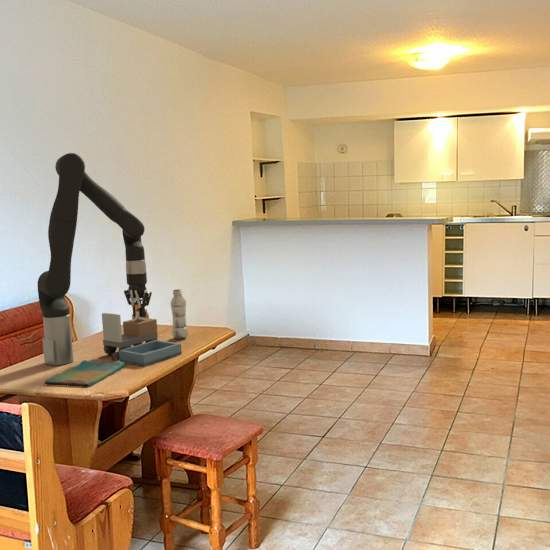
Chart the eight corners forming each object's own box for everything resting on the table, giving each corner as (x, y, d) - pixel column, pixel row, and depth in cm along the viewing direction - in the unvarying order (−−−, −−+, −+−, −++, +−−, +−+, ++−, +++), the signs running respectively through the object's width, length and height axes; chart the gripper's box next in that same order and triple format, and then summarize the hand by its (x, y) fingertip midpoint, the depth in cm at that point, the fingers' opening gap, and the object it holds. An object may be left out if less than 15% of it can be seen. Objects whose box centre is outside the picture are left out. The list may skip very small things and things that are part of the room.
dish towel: (127, 368, 222) (126, 361, 221) (90, 389, 199) (89, 381, 199) (83, 366, 226) (83, 359, 226) (43, 386, 204) (42, 379, 204)
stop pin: (139, 330, 243) (138, 305, 242) (135, 330, 245) (133, 304, 244) (145, 329, 246) (143, 304, 244) (140, 328, 247) (138, 303, 246)
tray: (144, 366, 221) (143, 355, 220) (119, 361, 228) (118, 350, 228) (181, 354, 235) (180, 343, 234) (157, 350, 243) (156, 339, 242)
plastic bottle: (169, 340, 258) (166, 291, 255) (176, 336, 264) (173, 288, 262) (184, 340, 256) (181, 291, 253) (191, 336, 262) (188, 288, 260)
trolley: (117, 360, 230) (113, 316, 228) (98, 356, 236) (95, 314, 234) (160, 347, 247) (157, 306, 244) (141, 344, 253) (138, 304, 251)
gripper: (116, 272, 243) (119, 316, 246) (141, 274, 235) (144, 320, 237) (131, 269, 249) (134, 313, 252) (156, 271, 241) (159, 316, 243)
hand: (139, 316), depth 245 cm, fingers closed on stop pin, 2 cm apart
